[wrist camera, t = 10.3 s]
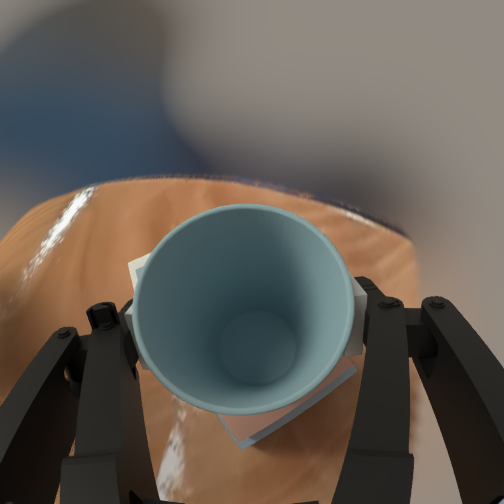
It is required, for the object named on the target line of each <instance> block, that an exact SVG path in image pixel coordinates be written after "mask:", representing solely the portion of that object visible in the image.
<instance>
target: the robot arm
mask: <svg viewBox="0 0 504 504" xmlns="http://www.w3.org/2000/svg"><path fill="white" fill-rule="evenodd" d="M348 272H349V271H348ZM349 274H350V272H349ZM350 277H351V281H352V285H353V291H354V300H355V313H354V323H353V328H352V332H351V335H350V339H349V341H348V344H347V346H346V349H345V351H344V353H343V354H344V357H347V356H353V355H359V354H362V350H363V343H364V344H365V346H366V354H365V361H364V368H363V375H362V381H361V387H360V392H359V398H358V403H357V408H356V413H355V418H354V423H353V427H352V432H351V436H350V440H349V444H348V448H347V452H346V455H345V459H344V463H343V467H342V470H341V474H340V477H339V480H338V484H337V487H336V490H335V493H334V497H333V500H332V503H331V504H410V497H411V489H412V480H413V469H414V457H413V454H409V427H410V378H409V357H412V360H413V362H414V365H415V367H416V369H417V372H418V374H419V376H420V379H421V381H422V383H423V386H424V388H425V391H426V393H427V396H428V398H429V400H430V403H431V406H432V409H433V411H434V414H435V417H436V419H437V422H438V425H439V428H440V430H441V433H442V436H443V439H444V442H445V445H446V448H447V451H448V454H449V457H450V460H451V464H452V467H453V470H454V474H455V477H456V481H457V485H458V489H459V492H460V497H461V500H462V503H463V504H504V368H503V367H502V365H501V364H500V363H499V361H498V360H497V358H496V357H495V356H494V355H493V353H492V352H491V350H490V349H489V348H488V346H487V345H486V344H485V343H484V341H483V340H482V339H481V338H480V336H479V335H478V334H477V333H476V331H475V330H474V329H473V328H472V327H471V325H470V324H469V323H468V321H467V320H466V319H465V318H464V317H463V316H462V315H461V313H460V312H459V311H458V310H457V309H456V307H455V306H454V305H453V304H452V303H451V302H450V301H449V300H447V299H445V298H443V297H439V296H435V297H427V298H425V299H424V300H423V301H422V305H421V308H404V304H403V302H402V301H400V300H399V299H397V298H394V297H386V296H385V295H384V294H383V293H382V292H381V291H380V290H379V289H378V287H377V286H376V285H375V284H374V283H373V282H372V281H371V280H370V279H368V278H366V277H364V276H361V277H353V276H352V275H351V274H350ZM132 307H133V299H131V300H130V301H128V302H127V303H126V304H125V306H124V308H122V309H121V310H120V312H119V313H117V310H116V306H115V303H112V302H102V303H98V304H95V305H93V306H91V307H90V308H89V309H88V310H87V311H86V313H87V316H88V319H89V322H90V325H91V327H92V332H91V334H90V335H84V336H79V335H78V332H77V330H76V328H74V327H63V328H60V329H59V330H58V331H56V332H55V333H54V334H52V336H51V337H50V338H49V339H48V341H47V342H46V343H45V345H44V346H43V347H42V349H41V350H40V351H39V353H38V354H37V355H36V357H35V358H34V359H33V361H32V362H31V363H30V365H29V366H28V367H27V369H26V370H25V372H24V373H23V374H22V376H21V377H20V379H19V380H18V382H17V383H16V384H15V386H14V387H13V389H12V390H11V392H10V393H9V395H8V396H7V398H6V399H5V401H4V402H3V404H2V405H1V407H0V504H54V502H55V498H56V495H57V491H58V488H59V484H60V504H184V503H177V502H169V501H162V500H160V498H159V495H158V490H157V486H156V482H155V477H154V473H153V468H152V463H151V458H150V453H149V448H148V442H147V436H146V430H145V423H144V416H143V409H142V401H141V393H140V384H139V374H138V371H137V368H136V363H137V361H138V359H139V361H140V363H141V366H142V369H147V370H150V369H149V367H148V366H147V364H146V362H145V360H144V358H143V356H142V354H141V353H140V350H139V347H138V344H137V341H136V337H135V333H134V328H133V319H132ZM64 370H65V371H66V373H67V375H68V378H67V380H66V379H65V376H64ZM75 436H76V438H75ZM74 439H75V453H74V456H69V453H70V450H71V447H72V444H73V442H74ZM294 504H319V502H318V501H311V502H303V503H294Z"/></svg>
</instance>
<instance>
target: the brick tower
mask: <svg viewBox="0 0 504 504" xmlns="http://www.w3.org/2000/svg"><path fill="white" fill-rule="evenodd" d="M357 371H358V370H357V369H356V368H355V366H354V365H353V362H352V361H351V360H350V358H349V357H348V356H347V357H344V354H343V355H342V357H341V359H340V360H339V362H338V363H337V365H336V366H335V368H334V369H333V371H332V372H331V373H330V374H329V375H328V377H327V378H326V379H325V380H324V381H323V382H322V383H321V384H320V385H319V386H318V387H316V388H315V389H314V390H313V391H312V392H310V393H309V394H307V395H306V396H304V397H303V398H301V399H300V400H298V401H296V402H294V403H293V404H290V405H288V406H286V407H284V408H281V409H278V410H275V411H271V412H268V413H263V414H257V415H246V416H233V415H224V414H218V413H215V414H216V415H217V416H218V418H219V419H220V421H221V422H222V424H223V425H224V427H225V428H226V430H227V431H228V432H229V434H230V435H231V437H232V438H233V439H234V441H235V442H236V444H237V445H238V446H239V448H240V449H241V450H243V449H245V448H247V447H249V446H250V445H252V444H254V443H256V442H257V441H259V440H261V439H262V438H264V437H266V436H267V435H269V434H271V433H272V432H274V431H275V430H277V429H279V428H280V427H282V426H283V425H285V424H286V423H288V422H289V421H291V420H292V419H294V418H295V417H297V416H298V415H300V414H301V413H303V412H304V411H306V410H307V409H308V408H310V407H311V406H313V405H314V404H315V403H317V402H318V401H320V400H321V399H322V398H324V397H325V396H326V395H328V394H329V393H330V392H332V391H333V390H334V389H336V388H337V387H338V386H339V385H341V384H342V383H343V382H345V381H346V380H347V379H348V378H349V377H351V376H352V375H353V374H354V373H356V372H357Z"/></svg>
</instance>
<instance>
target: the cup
mask: <svg viewBox="0 0 504 504" xmlns="http://www.w3.org/2000/svg"><path fill="white" fill-rule="evenodd" d="M354 313H355V300H354V291H353V285H352V281H351V277H350V274H349V272H348V269H347V267H346V264H345V262H344V260H343V258H342V256H341V255H340V253H339V252H338V250H337V249H336V247H335V246H334V245H333V243H332V242H331V241H330V240H329V239H328V238H327V236H326V235H325V234H323V233H322V232H321V231H320V230H319V229H318V228H317V227H315V226H314V225H313V224H311V223H310V222H308V221H307V220H305V219H303V218H302V217H300V216H298V215H296V214H294V213H291V212H289V211H286V210H283V209H280V208H277V207H273V206H267V205H261V204H234V205H227V206H222V207H217V208H214V209H210V210H207V211H205V212H202V213H200V214H198V215H196V216H194V217H192V218H190V219H188V220H186V221H185V222H183V223H182V224H180V225H179V226H177V227H176V228H175V229H173V230H172V231H171V232H170V233H169V234H167V235H166V236H165V237H164V238H163V239H162V240H161V242H160V243H159V244H158V245H157V246H156V247H155V249H154V250H153V251H152V253H151V254H150V256H149V257H148V259H147V261H146V262H145V264H144V266H143V268H142V270H141V273H140V275H139V278H138V281H137V284H136V287H135V292H134V297H133V307H132V319H133V328H134V333H135V337H136V341H137V344H138V347H139V350H140V353H141V354H142V356H143V358H144V360H145V362H146V364H147V366H148V367H149V369H150V370H151V372H152V373H153V374H154V375H155V377H156V378H157V379H158V380H159V381H160V382H161V383H162V384H163V385H164V386H165V387H166V388H167V389H168V390H169V391H170V392H172V393H173V394H174V395H176V396H177V397H178V398H180V399H182V400H183V401H185V402H187V403H189V404H191V405H193V406H196V407H198V408H201V409H204V410H206V411H210V412H214V413H218V414H224V415H233V416H246V415H257V414H263V413H268V412H271V411H275V410H278V409H281V408H284V407H286V406H288V405H290V404H293V403H294V402H296V401H298V400H300V399H301V398H303V397H304V396H306V395H307V394H309V393H310V392H312V391H313V390H314V389H315V388H316V387H318V386H319V385H320V384H321V383H322V382H323V381H324V380H325V379H326V378H327V377H328V375H329V374H330V373H331V372H332V371H333V369H334V368H335V366H336V365H337V363H338V362H339V360H340V359H341V357H342V355H343V353H344V351H345V349H346V346H347V344H348V341H349V339H350V335H351V332H352V328H353V323H354Z"/></svg>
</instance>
